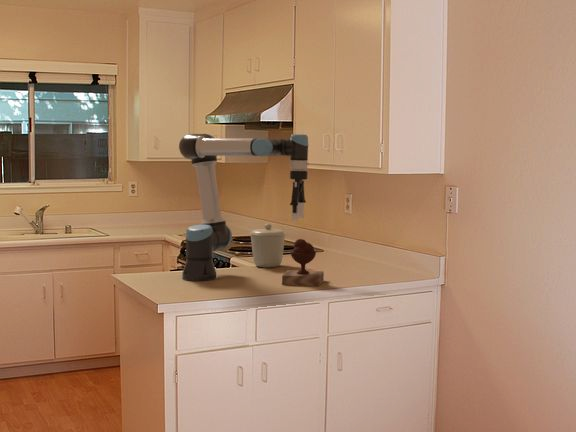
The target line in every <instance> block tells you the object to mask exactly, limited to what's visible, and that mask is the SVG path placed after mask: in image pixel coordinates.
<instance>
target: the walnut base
mask: <svg viewBox="0 0 576 432" xmlns="http://www.w3.org/2000/svg"><path fill="white" fill-rule="evenodd" d="M298 271H299V270H297V269H295V270H293V269H292V270H290V269H288V270H286V271H285V272H284V273H283V274H282V275H281V277H282V278H281V279H282V280H281V285H282V286H284V285H285V286H304V287H305V286H308V287H309V286H310V287H320V286H321V285H322V283H323V282H324V278H325V277H324V273H325V271H324V270H321V271H319V270H307V271H308V272H309V274H305V275H302V274H297V272H298Z"/></svg>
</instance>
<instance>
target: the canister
mask: <svg viewBox="0 0 576 432" xmlns="http://www.w3.org/2000/svg"><path fill="white" fill-rule="evenodd" d="M286 235H287V232H285V231H284V230H283V229H279V228H272V224H271V223H265V224H264V228H258V229H253V230H251V232H249V236H250V240H251V242H250V243H251V250H252V258H253V263H254V265H255V266H256V267H260V268H276V267H280V266H281V264H282V262H283V254H284V247H285V238H286Z"/></svg>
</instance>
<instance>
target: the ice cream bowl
mask: <svg viewBox="0 0 576 432" xmlns="http://www.w3.org/2000/svg"><path fill="white" fill-rule="evenodd" d="M316 255H317V252H316V251H315V248H314V246H313V244H312V243H310V242H307V240H305V239H303V238H297V239H296V240H295V241H294V244H293V249H292V251H290V256H291V258H292V259H293V261H295V263H298V264H299V265H300V270H297V271H298V272H297V274H302V275H305V274H309V272H308V271H309V270H307V269H306V265H307V264H310V262H311V263H312V261H313V260H314V259H315V257H316Z"/></svg>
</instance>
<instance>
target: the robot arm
mask: <svg viewBox="0 0 576 432" xmlns="http://www.w3.org/2000/svg"><path fill="white" fill-rule="evenodd" d="M178 150H179V153H180V154H181V156H182V157H184V158H185V159H188V160H190V161H191V166H193V167H194V168H195V170H196V178H197V184H198V185H197V186H198V193H199V200H200V206H201V213H202V214H201V215H202V221H201V222H200V224H197V225H195V224H194V225H191V226H188V227H187V228H186V232H185V249H186V250H185V255H186V256H185V259H186V261H185V264H184V268H183V270H182V276H181V278H182V279H183V280H185V279H186V280H185V281H191V280H194V282H195V281H196V282H200V281H201V282H204V281H205V282H206V281H212V280H216V279H217V270H216V268H215V265H214V262H213V253H215V252H220V251H222V250H224V249H227V247H229V246H230V244H231V243H232V239H233V233H232V231H231V229H230V227H228V226H227V222H226V219H225V218H223V216H222V211H221V203H220V196H219V190H218V183H217V182H218V180H217V177H216V176H217V175H216V174H217V173H216V168H215V166H216V164H217V162H218V158H217V157H218V156H219V157H220V156H223V157H224V156H227V157H229V156H230V157H231V156H232V157H236V156H237V157H239V156H240V157H248V156H249V157H290V161H289V169H290V171H289V179H291V180H294V181H292V192H291V199H290V200H291V201H290V203H289V206H291V221H295V222H298V221H299V218H302V219H303V218H304V215H305V213H304V212H305V211H304V210H305V203H306V202H307V201H306V199H305V181H306V180H308V171H307V170H308V166H309V162H308V161H309V160H308V158H309V136H308V135H307V134H291V135H290V138H279V137H278V138H275V137H271V138H270V137H269V138H268V137H267V138H266V137H259V138H258V137H256V138H255V137H250V138H246V137H245V138H244V137H241V138H239V137H236V138H235V137H232V138H230V137H226V138H225V137H224V138H223V137H214V136H213V135H211V134H207V133H188V134H185V135H184V136H183V137H182V138H181V139H180V141H179V144H178ZM304 180H305V181H304Z"/></svg>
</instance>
